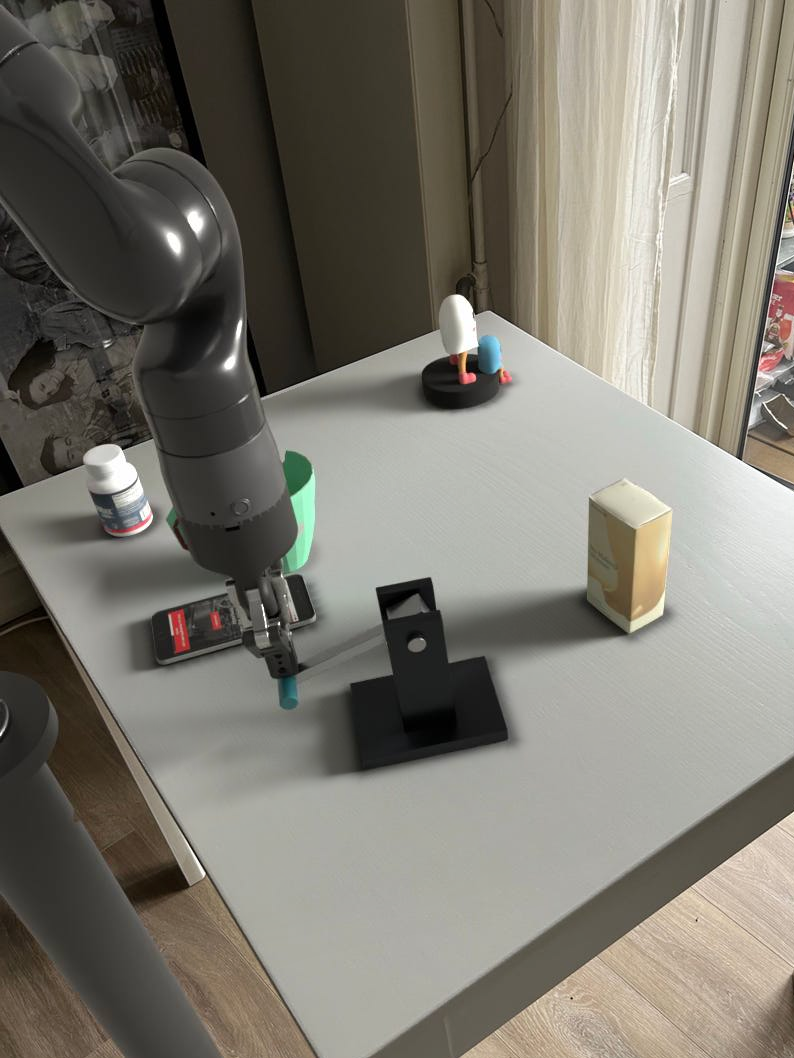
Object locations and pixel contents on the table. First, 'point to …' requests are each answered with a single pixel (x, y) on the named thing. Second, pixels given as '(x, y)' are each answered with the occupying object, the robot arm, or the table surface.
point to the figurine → (463, 361)
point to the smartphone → (216, 623)
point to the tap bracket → (423, 690)
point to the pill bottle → (116, 491)
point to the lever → (344, 651)
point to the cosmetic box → (627, 554)
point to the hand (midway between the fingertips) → (285, 671)
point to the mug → (302, 499)
